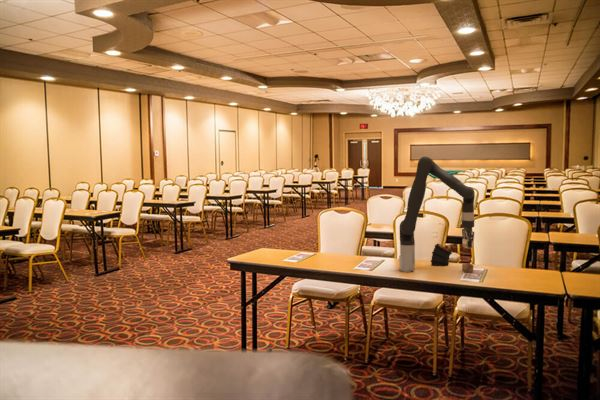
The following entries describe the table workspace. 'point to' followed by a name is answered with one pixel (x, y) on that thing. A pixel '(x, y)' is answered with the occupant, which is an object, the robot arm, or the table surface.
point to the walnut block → (467, 268)
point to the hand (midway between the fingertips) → (467, 246)
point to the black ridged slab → (440, 256)
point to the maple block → (465, 243)
